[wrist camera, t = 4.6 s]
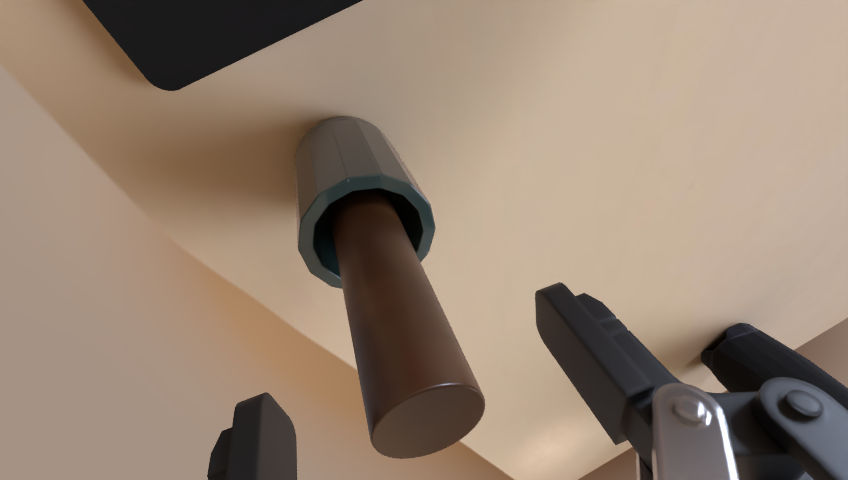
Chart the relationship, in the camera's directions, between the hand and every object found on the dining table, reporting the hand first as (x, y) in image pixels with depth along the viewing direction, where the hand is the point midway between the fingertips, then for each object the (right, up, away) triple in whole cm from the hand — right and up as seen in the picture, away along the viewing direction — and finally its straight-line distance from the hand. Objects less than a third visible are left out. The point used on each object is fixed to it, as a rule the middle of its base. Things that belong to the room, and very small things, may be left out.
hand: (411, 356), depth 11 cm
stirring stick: (-4, +7, +11) cm, 14 cm away
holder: (-4, +8, +11) cm, 15 cm away
